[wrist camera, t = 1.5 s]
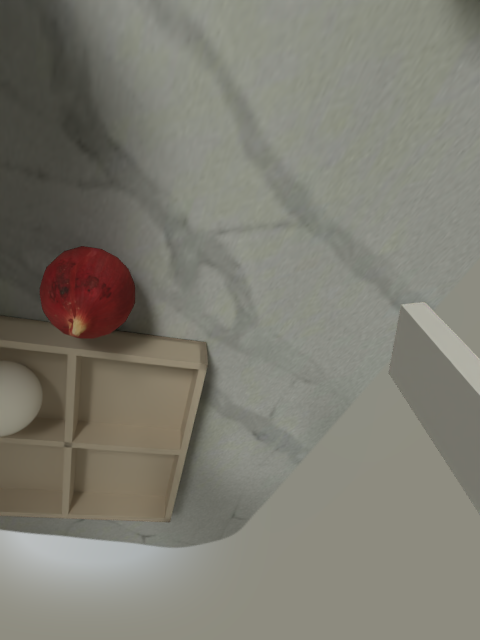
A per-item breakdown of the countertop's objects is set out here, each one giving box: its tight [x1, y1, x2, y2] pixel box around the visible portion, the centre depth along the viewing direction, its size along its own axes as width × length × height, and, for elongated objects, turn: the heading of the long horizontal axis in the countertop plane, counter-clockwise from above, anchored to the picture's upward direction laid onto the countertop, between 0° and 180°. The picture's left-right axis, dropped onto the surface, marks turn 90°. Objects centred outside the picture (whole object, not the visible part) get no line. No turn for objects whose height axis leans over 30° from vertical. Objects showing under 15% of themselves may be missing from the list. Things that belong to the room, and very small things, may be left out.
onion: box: [40, 246, 135, 339], centre depth 28 cm, size 6×6×8 cm
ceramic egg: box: [0, 360, 43, 437], centre depth 32 cm, size 6×6×6 cm
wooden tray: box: [0, 316, 208, 522], centre depth 37 cm, size 20×20×3 cm
